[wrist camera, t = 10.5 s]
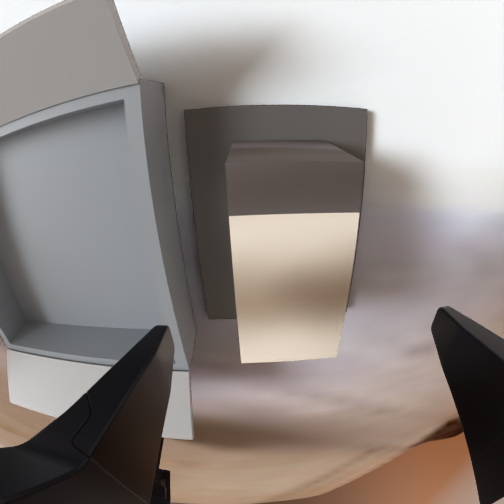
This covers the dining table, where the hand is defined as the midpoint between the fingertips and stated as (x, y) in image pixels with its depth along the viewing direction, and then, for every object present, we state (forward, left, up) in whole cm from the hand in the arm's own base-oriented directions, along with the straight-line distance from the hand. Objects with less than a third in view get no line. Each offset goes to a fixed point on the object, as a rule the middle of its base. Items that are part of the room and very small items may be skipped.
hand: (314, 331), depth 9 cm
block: (-1, 0, -10) cm, 10 cm away
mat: (-1, +1, -10) cm, 10 cm away
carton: (+7, +13, -10) cm, 18 cm away
